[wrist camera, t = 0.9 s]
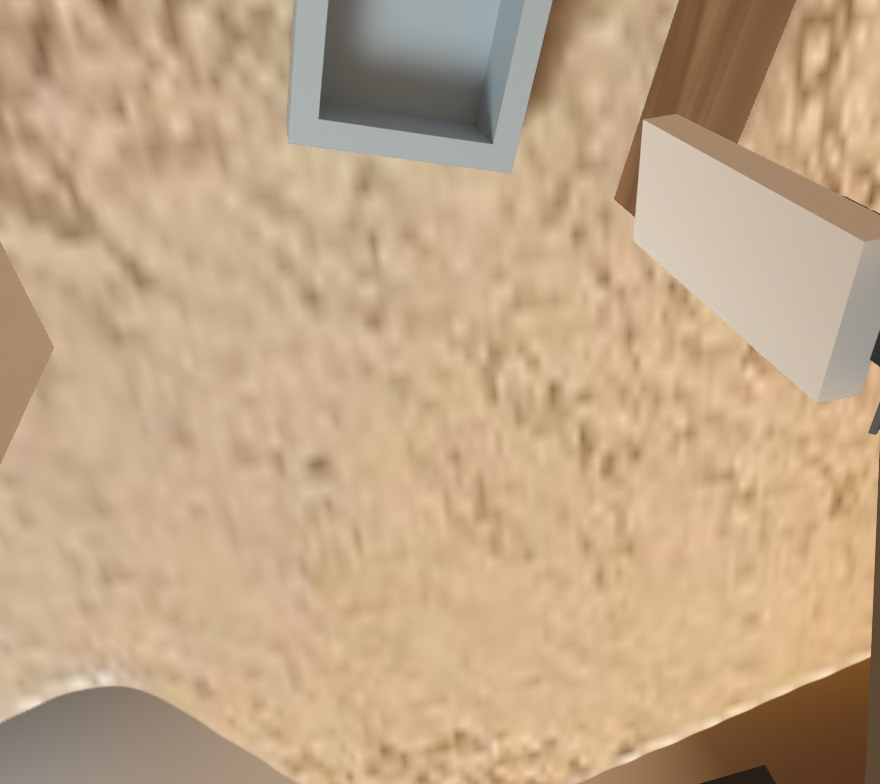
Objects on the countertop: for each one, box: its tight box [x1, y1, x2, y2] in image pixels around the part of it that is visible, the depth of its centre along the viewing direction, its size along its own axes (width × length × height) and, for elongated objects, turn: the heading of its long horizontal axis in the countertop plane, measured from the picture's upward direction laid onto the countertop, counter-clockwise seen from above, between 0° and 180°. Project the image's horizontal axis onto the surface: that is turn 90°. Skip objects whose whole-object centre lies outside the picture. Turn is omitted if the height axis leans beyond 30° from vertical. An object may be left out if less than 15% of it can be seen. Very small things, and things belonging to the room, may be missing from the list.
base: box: [614, 0, 796, 217], centre depth 34 cm, size 5×14×6 cm, turn 169°
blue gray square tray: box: [287, 0, 553, 173], centre depth 30 cm, size 10×10×4 cm
